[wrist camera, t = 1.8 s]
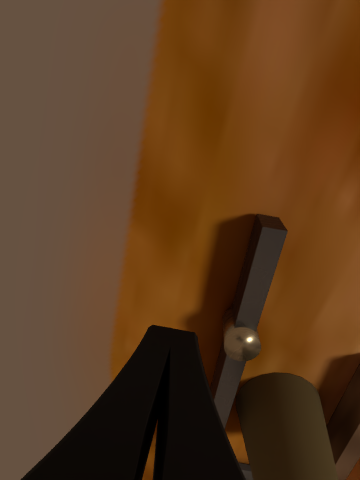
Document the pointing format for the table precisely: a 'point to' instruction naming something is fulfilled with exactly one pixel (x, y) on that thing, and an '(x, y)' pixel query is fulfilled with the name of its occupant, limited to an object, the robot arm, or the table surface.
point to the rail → (346, 429)
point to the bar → (246, 311)
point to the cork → (284, 429)
